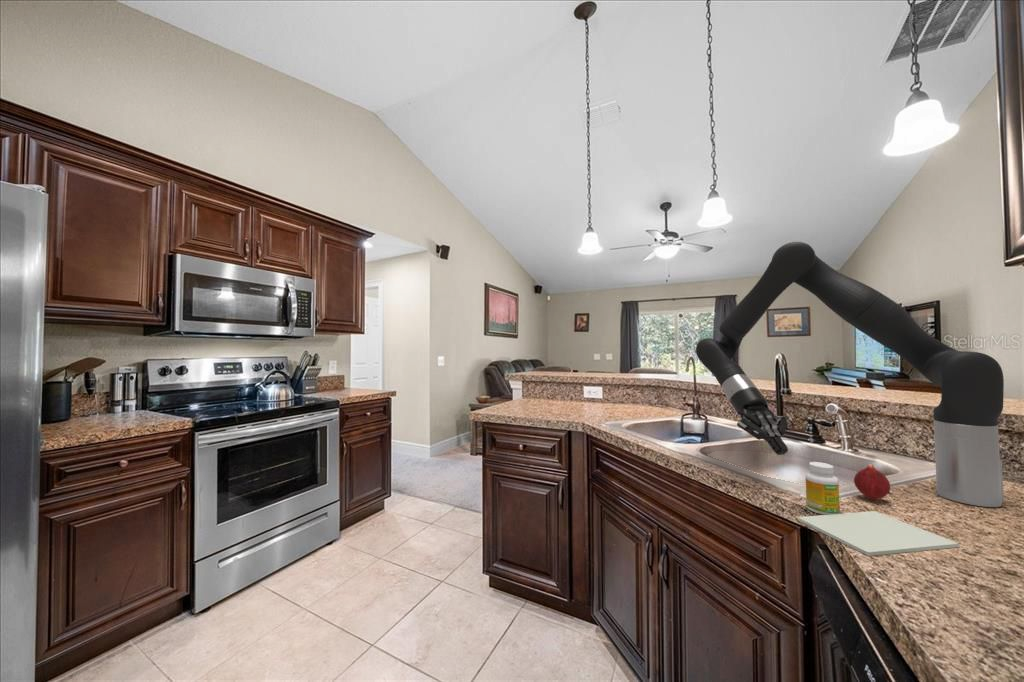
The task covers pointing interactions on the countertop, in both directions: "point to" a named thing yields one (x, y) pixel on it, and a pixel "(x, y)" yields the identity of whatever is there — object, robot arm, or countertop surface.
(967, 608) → the countertop surface
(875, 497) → the onion
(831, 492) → the supplement bottle
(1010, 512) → the countertop surface
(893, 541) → the mat
